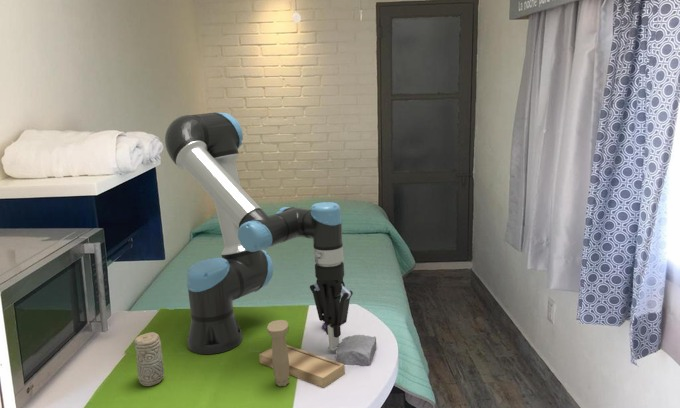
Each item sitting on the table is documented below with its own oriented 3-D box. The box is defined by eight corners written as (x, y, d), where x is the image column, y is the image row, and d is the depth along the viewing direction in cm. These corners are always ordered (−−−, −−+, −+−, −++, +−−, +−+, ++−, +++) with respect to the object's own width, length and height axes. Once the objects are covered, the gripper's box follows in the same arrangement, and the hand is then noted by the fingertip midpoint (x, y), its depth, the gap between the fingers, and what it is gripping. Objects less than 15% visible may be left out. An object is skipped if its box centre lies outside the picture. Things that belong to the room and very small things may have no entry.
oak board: (259, 363, 146) (259, 353, 145) (281, 351, 152) (280, 342, 151) (323, 387, 132) (323, 377, 132) (344, 373, 138) (344, 363, 138)
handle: (271, 391, 132) (265, 332, 129) (273, 377, 138) (269, 320, 135) (291, 390, 132) (286, 330, 129) (293, 376, 138) (289, 319, 135)
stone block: (335, 372, 143) (373, 366, 141) (331, 354, 143) (369, 348, 140) (344, 352, 155) (379, 346, 152) (340, 335, 154) (375, 330, 152)
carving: (142, 391, 135) (136, 345, 132) (135, 379, 141) (129, 334, 139) (169, 383, 138) (163, 338, 136) (161, 371, 144) (155, 327, 142)
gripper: (300, 262, 146) (306, 346, 151) (339, 270, 138) (344, 359, 142) (319, 255, 152) (324, 336, 156) (357, 262, 143) (362, 347, 148)
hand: (334, 347), depth 149 cm, fingers closed
